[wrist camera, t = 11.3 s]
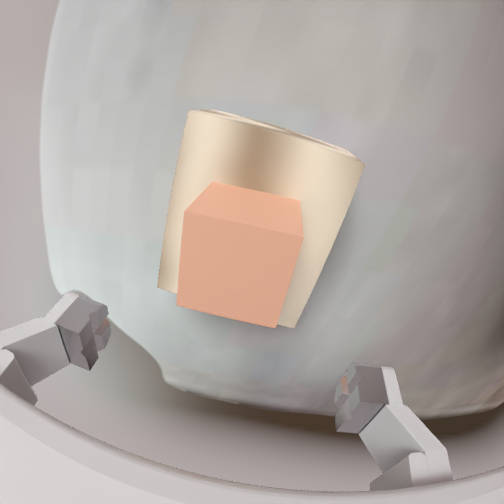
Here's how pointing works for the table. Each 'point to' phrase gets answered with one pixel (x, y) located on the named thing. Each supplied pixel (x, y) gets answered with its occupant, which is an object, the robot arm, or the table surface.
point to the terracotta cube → (239, 253)
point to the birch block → (263, 188)
